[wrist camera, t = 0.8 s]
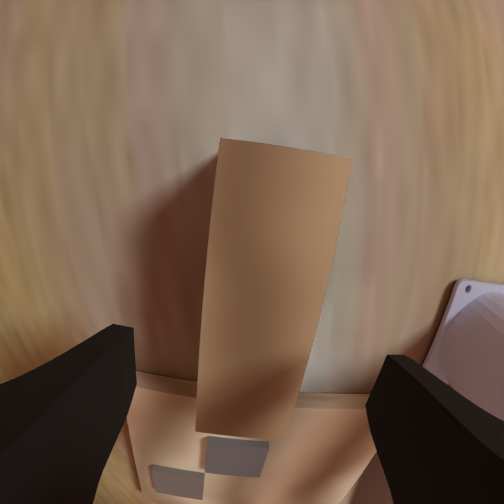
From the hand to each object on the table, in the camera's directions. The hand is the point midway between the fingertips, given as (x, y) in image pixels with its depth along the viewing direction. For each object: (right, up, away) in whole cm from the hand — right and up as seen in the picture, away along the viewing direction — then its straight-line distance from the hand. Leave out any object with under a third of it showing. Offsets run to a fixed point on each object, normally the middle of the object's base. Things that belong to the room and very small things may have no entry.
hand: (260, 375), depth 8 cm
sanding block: (0, +3, +8) cm, 9 cm away
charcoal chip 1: (-6, -15, +12) cm, 20 cm away
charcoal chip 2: (-1, -11, +11) cm, 15 cm away
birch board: (0, -13, +13) cm, 18 cm away
